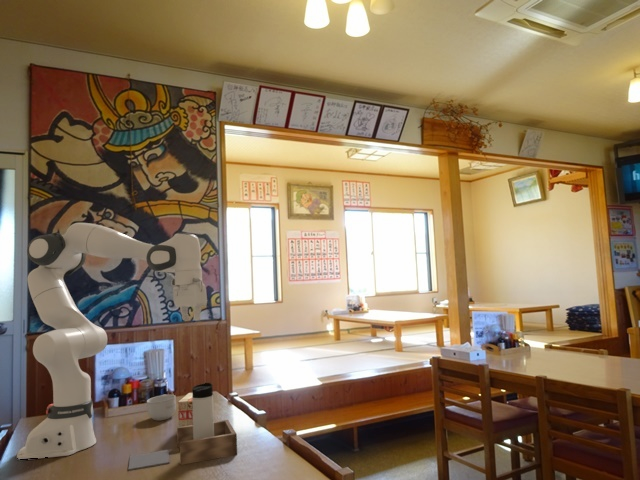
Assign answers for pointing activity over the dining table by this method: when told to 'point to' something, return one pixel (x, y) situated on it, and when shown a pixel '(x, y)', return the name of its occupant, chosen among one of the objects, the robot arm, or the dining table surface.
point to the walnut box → (207, 443)
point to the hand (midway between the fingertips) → (191, 320)
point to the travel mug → (203, 411)
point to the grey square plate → (148, 460)
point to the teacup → (161, 407)
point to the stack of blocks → (185, 410)
